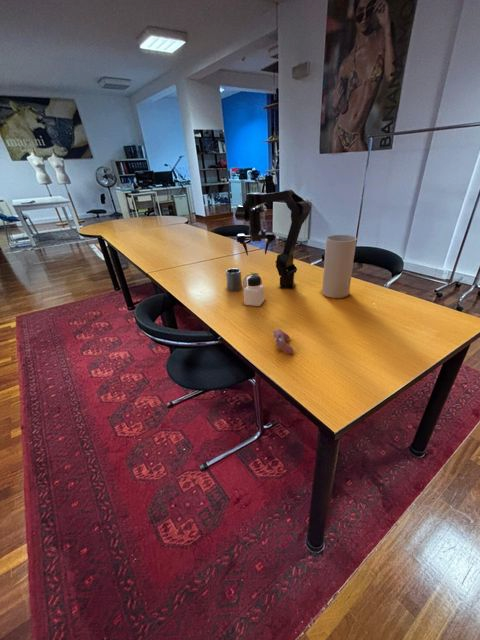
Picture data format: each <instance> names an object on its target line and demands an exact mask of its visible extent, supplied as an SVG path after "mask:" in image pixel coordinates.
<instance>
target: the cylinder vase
mask: <svg viewBox="0 0 480 640" xmlns="http://www.w3.org/2000/svg"><path fill="white" fill-rule="evenodd" d="M357 239H358V238H357V236H354V235H350V234H349V235H348V234H332V235H327V236H326V239H325V251H324V260H323V273H322V283H321V284H322V286H321V293H322V295H323V296H324V297H327V298H332V299H342V298H346V297H348V296H349V294H350V291H351V284H352V283H351V282H352V276H353V275H352V274H353V268H354V262H355V261H354V260H355V254H356V248H357V247H356V246H357Z"/></svg>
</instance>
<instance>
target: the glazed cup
mask: <svg viewBox="0 0 480 640" xmlns="http://www.w3.org/2000/svg"><path fill="white" fill-rule="evenodd" d="M225 279H226V288H227V291H229V292H237V291H238V292H239V291H241V290H242V289H243V281H242V269H240V268H236V267H235V268H229V269H226V270H225Z"/></svg>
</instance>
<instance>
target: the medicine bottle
mask: <svg viewBox="0 0 480 640" xmlns="http://www.w3.org/2000/svg"><path fill="white" fill-rule="evenodd" d="M259 276H260V275H258V276H257V275H251V276H248V277H247V278H246V279H247V287H246V288H243V302H244V305H245V306H252V307H253V306H254V307H260V306H261V305H262V304H263V303H264V302H265V285H263V284H261V280H262V278H261V277H259ZM260 278H261V279H260Z"/></svg>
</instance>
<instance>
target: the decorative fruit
mask: <svg viewBox="0 0 480 640" xmlns="http://www.w3.org/2000/svg"><path fill="white" fill-rule="evenodd" d="M251 275H257V276H259V277H260V274H259V273H257V272H252V273H250V274H247V275H245V276H244V278H243V281H242V287H244V288H243V289H245V288H246V287H247V279H246V278H247V277H248V276H251ZM260 279H261V285H263V284H262V283H263V279H262V277H260Z"/></svg>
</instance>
